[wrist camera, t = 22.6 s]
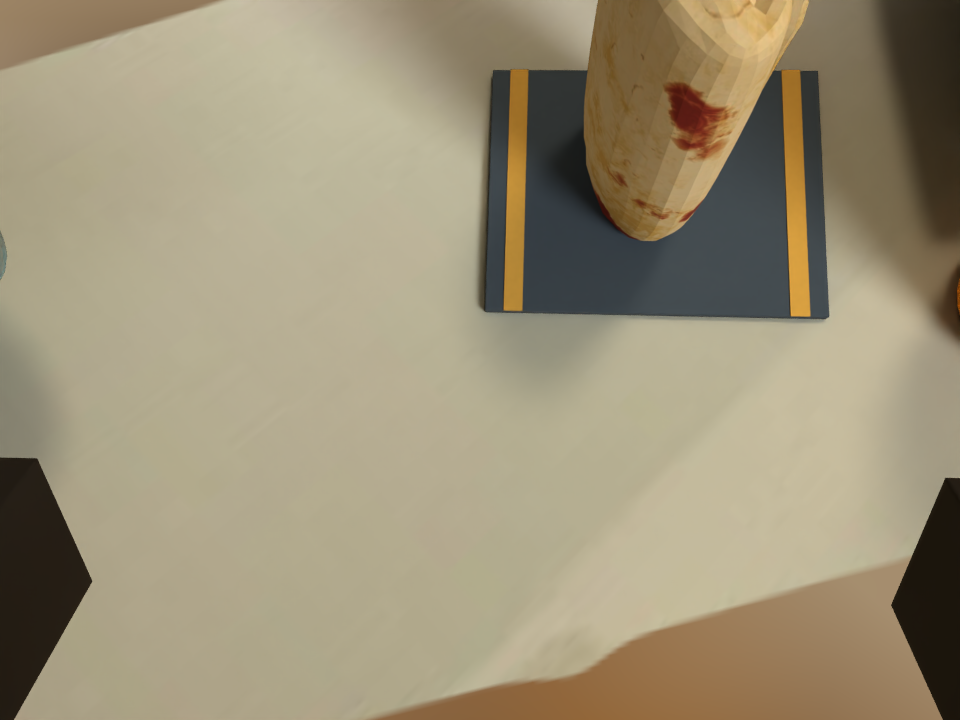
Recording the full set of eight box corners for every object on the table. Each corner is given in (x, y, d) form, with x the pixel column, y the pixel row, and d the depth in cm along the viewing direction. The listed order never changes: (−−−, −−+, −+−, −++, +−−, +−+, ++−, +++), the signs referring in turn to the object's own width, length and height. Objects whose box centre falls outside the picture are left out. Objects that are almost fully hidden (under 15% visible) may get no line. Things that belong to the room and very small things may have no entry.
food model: (553, 115, 44) (576, -196, 25) (670, 86, 44) (786, -250, 25) (599, 279, 42) (664, 84, 23) (721, 249, 42) (892, 27, 23)
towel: (485, 312, 43) (484, 309, 42) (493, 74, 45) (492, 69, 45) (826, 319, 42) (830, 316, 41) (814, 75, 44) (818, 69, 44)
